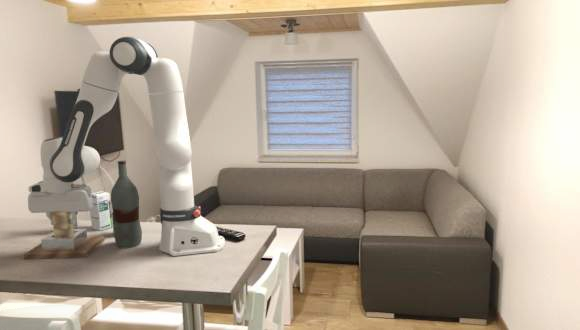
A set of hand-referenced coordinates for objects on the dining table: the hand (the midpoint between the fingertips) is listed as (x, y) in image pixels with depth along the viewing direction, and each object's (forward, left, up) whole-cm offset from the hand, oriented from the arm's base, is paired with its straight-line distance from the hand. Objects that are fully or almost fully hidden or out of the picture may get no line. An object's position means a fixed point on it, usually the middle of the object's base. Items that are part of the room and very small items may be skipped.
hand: (63, 224), depth 146 cm
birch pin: (0, 0, -6) cm, 6 cm away
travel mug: (+8, -21, -9) cm, 24 cm away
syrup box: (-4, -23, -9) cm, 25 cm away
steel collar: (0, 0, -7) cm, 7 cm away
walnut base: (0, 0, -9) cm, 9 cm away
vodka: (-21, -3, -9) cm, 23 cm away
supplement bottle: (-15, -15, -9) cm, 23 cm away
